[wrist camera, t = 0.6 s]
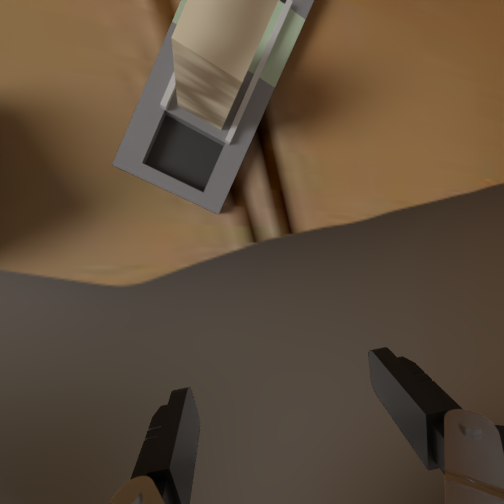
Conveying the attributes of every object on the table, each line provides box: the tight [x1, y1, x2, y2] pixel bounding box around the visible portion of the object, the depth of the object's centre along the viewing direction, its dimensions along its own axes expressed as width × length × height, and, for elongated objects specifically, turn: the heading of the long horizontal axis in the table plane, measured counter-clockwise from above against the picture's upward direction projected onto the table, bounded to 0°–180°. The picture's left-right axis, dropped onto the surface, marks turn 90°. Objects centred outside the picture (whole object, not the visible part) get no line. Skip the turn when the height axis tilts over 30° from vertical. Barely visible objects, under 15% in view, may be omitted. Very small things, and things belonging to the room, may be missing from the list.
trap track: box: [112, 0, 314, 214], centre depth 29 cm, size 12×31×3 cm, turn 155°
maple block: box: [171, 0, 278, 130], centre depth 23 cm, size 5×6×12 cm
